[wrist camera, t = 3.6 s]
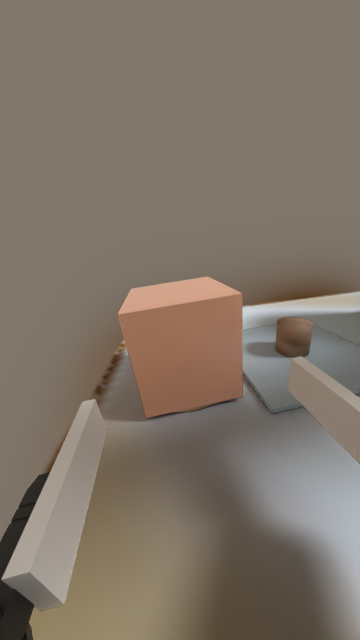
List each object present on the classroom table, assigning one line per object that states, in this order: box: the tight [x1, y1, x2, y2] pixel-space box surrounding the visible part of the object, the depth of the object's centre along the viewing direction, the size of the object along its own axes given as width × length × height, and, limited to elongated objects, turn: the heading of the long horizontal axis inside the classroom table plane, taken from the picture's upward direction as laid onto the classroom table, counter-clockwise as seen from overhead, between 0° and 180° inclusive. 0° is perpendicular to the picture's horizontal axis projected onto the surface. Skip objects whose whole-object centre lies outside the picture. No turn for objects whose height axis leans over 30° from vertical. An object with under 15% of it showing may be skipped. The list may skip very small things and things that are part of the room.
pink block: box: [118, 277, 243, 418], centre depth 21 cm, size 10×10×11 cm
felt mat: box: [242, 324, 360, 414], centre depth 25 cm, size 16×16×1 cm
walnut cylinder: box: [275, 317, 313, 358], centre depth 24 cm, size 4×4×4 cm
